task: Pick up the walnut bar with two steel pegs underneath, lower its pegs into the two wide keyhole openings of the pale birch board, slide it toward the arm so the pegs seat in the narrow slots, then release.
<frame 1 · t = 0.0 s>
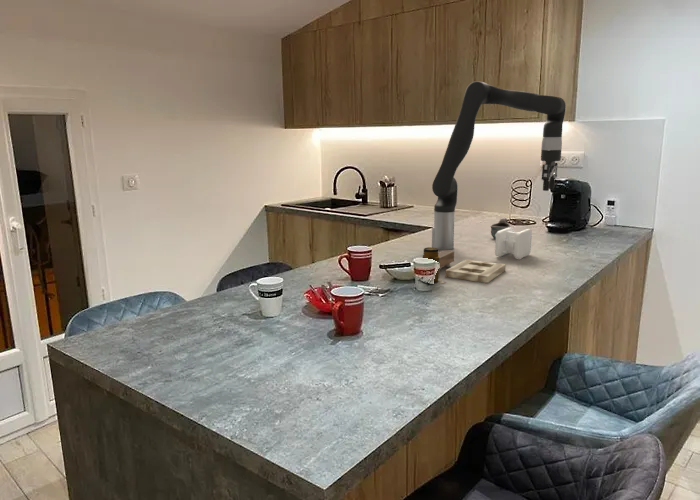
hand: (548, 189, 212), 29 cm above the counter, fingers open, 8 cm apart
keyhole board: (475, 273, 199), on the counter
walnut bar: (441, 268, 207), on the counter
condiment: (431, 281, 190), on the counter
mug: (500, 238, 263), on the counter
cable organizer: (512, 256, 226), on the counter
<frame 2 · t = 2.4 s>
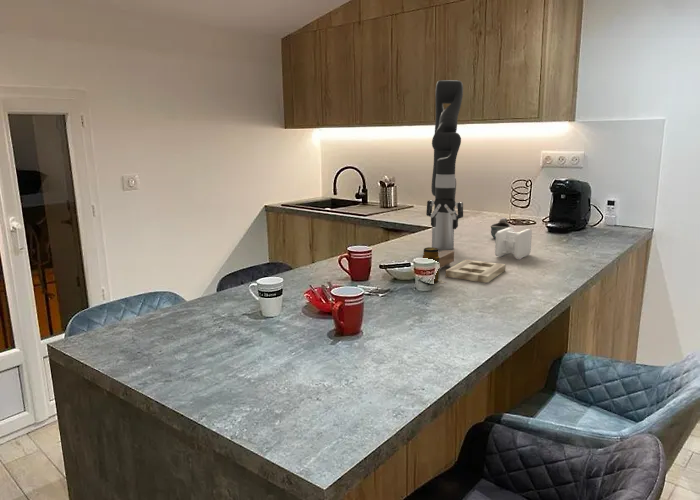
hand: (444, 228, 203), 16 cm above the counter, fingers open, 8 cm apart
nothing on the counter moved.
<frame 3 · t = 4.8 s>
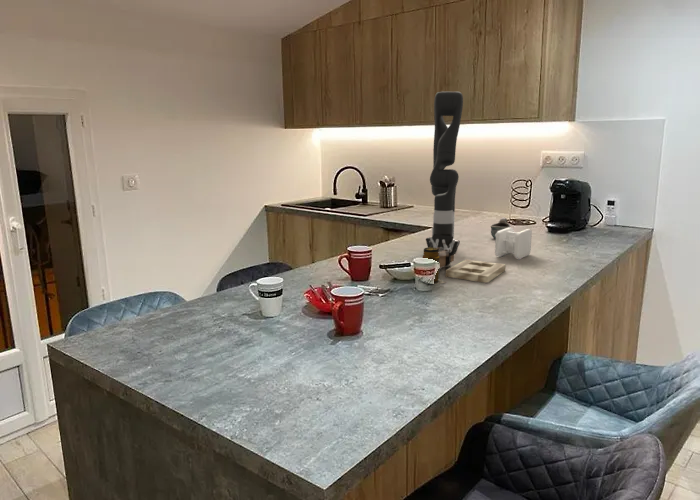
hand: (442, 264, 206), 2 cm above the counter, fingers closed on walnut bar, 4 cm apart
walnut bar: (441, 268, 207), on the counter, touching gripper
everything else where it was.
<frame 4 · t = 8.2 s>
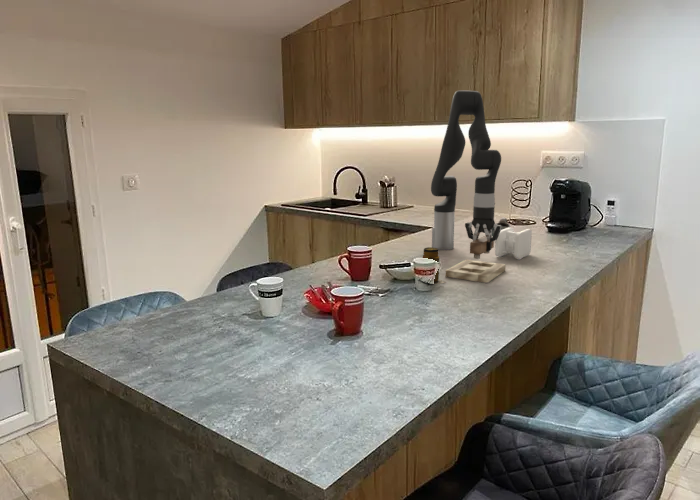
hand: (482, 250, 196), 9 cm above the counter, fingers closed on walnut bar, 4 cm apart
walnut bar: (481, 255, 196), point 7 cm above the counter, touching gripper
everything else where it was.
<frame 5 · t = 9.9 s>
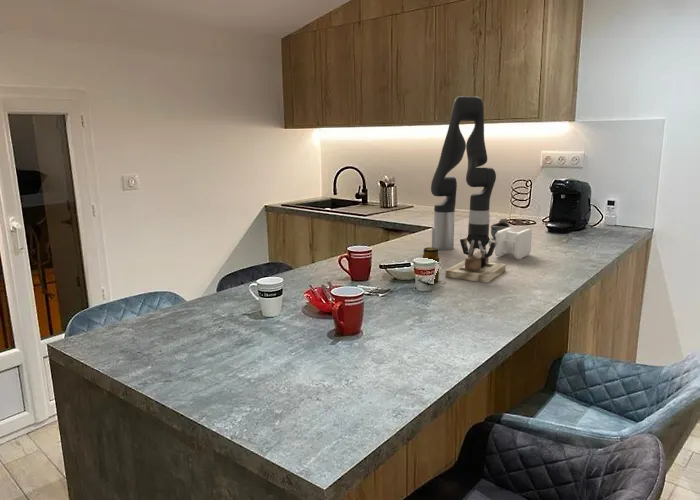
hand: (476, 266, 198), 3 cm above the counter, fingers closed on walnut bar, 4 cm apart
walnut bar: (476, 271, 199), point 1 cm above the counter, touching gripper
everything else where it was.
when the fingers open (3 cm above the counter, at t = 11.5 s): walnut bar stays where it is, resting on keyhole board.
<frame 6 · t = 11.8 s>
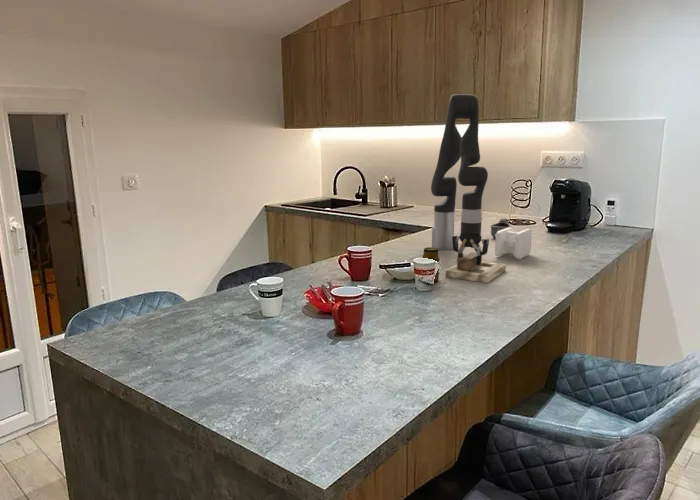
hand: (469, 263, 200), 4 cm above the counter, fingers open, 6 cm apart
walnut bar: (469, 271, 200), resting on keyhole board
everything else where it was.
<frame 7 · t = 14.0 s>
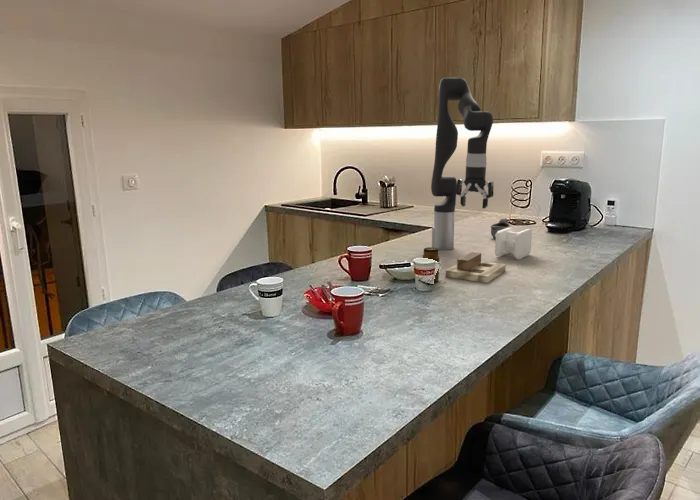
hand: (473, 207, 205), 24 cm above the counter, fingers open, 8 cm apart
nothing on the counter moved.
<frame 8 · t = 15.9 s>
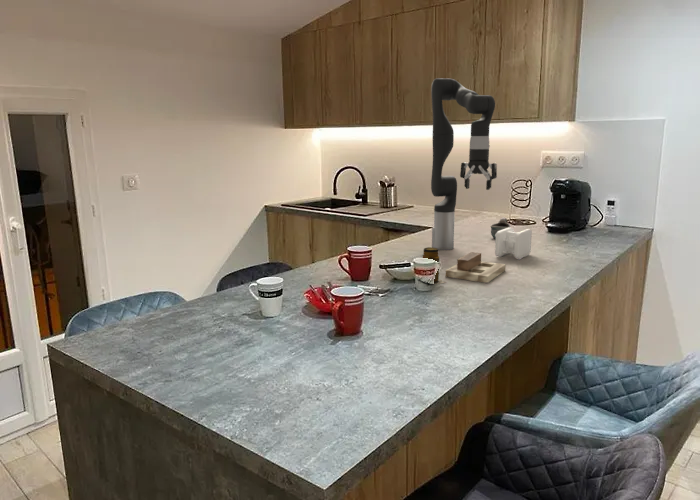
hand: (477, 189, 210), 30 cm above the counter, fingers open, 8 cm apart
nothing on the counter moved.
at the end: walnut bar 0.2 cm from the target spot on the keyhole board, point 0.5 cm above the keyhole board's base; walnut bar tilted 0°; the gripper is holding nothing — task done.
